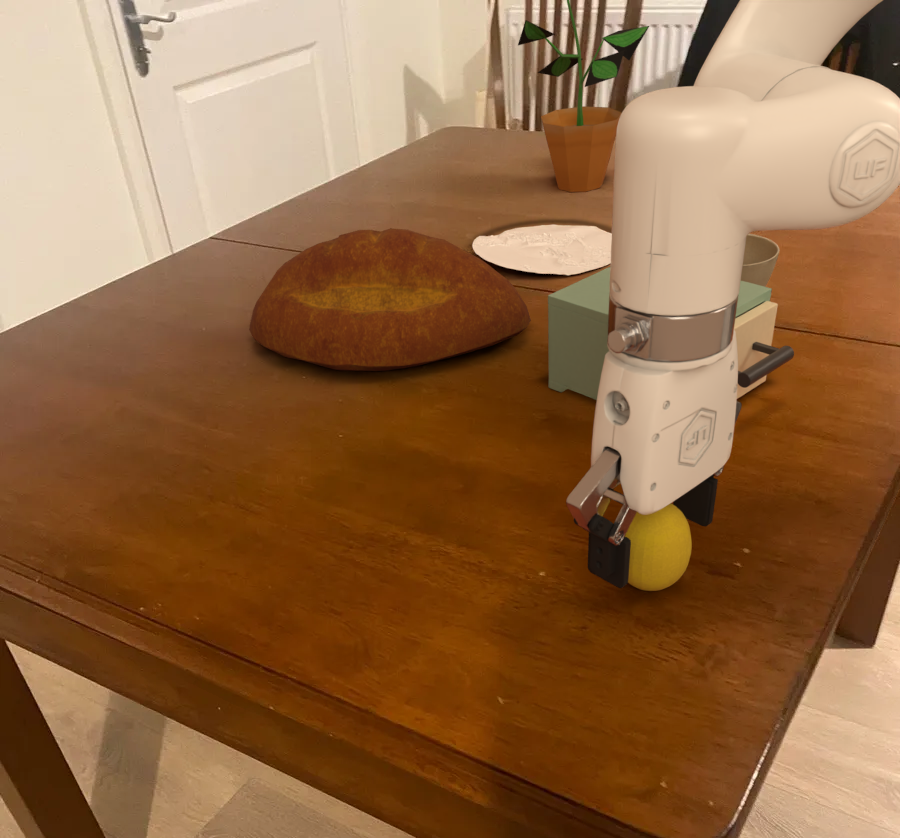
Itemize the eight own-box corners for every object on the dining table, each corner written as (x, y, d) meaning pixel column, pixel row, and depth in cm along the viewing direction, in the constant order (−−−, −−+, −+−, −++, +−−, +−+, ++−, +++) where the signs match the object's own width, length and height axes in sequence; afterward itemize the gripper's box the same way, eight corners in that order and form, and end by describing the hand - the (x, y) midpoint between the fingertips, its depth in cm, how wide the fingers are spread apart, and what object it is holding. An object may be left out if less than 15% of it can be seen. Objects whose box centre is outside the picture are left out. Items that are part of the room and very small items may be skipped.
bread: (285, 305, 118) (265, 204, 110) (539, 304, 112) (538, 198, 104) (226, 381, 102) (198, 270, 94) (518, 385, 96) (515, 267, 88)
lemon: (630, 620, 67) (635, 530, 61) (600, 575, 71) (603, 488, 66) (699, 602, 67) (711, 513, 62) (666, 560, 72) (674, 472, 67)
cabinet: (757, 383, 92) (772, 288, 86) (673, 437, 86) (682, 338, 79) (633, 342, 102) (638, 253, 95) (548, 387, 95) (547, 295, 89)
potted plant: (509, 178, 153) (501, -40, 134) (617, 163, 154) (625, -54, 135) (536, 209, 139) (532, -28, 120) (654, 193, 141) (669, -44, 122)
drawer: (801, 392, 88) (816, 313, 83) (724, 444, 82) (735, 362, 77) (647, 341, 99) (652, 269, 94) (569, 383, 93) (570, 308, 88)
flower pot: (665, 303, 109) (670, 242, 104) (740, 287, 111) (748, 227, 106) (707, 335, 102) (715, 270, 97) (787, 317, 103) (798, 254, 99)
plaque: (452, 272, 121) (452, 261, 120) (496, 224, 135) (496, 214, 134) (603, 288, 116) (604, 276, 115) (631, 237, 130) (632, 226, 129)
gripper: (628, 391, 49) (614, 629, 60) (804, 291, 58) (763, 516, 69) (527, 353, 54) (531, 580, 65) (704, 265, 62) (681, 480, 73)
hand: (651, 547), depth 67 cm, fingers open, 9 cm apart
